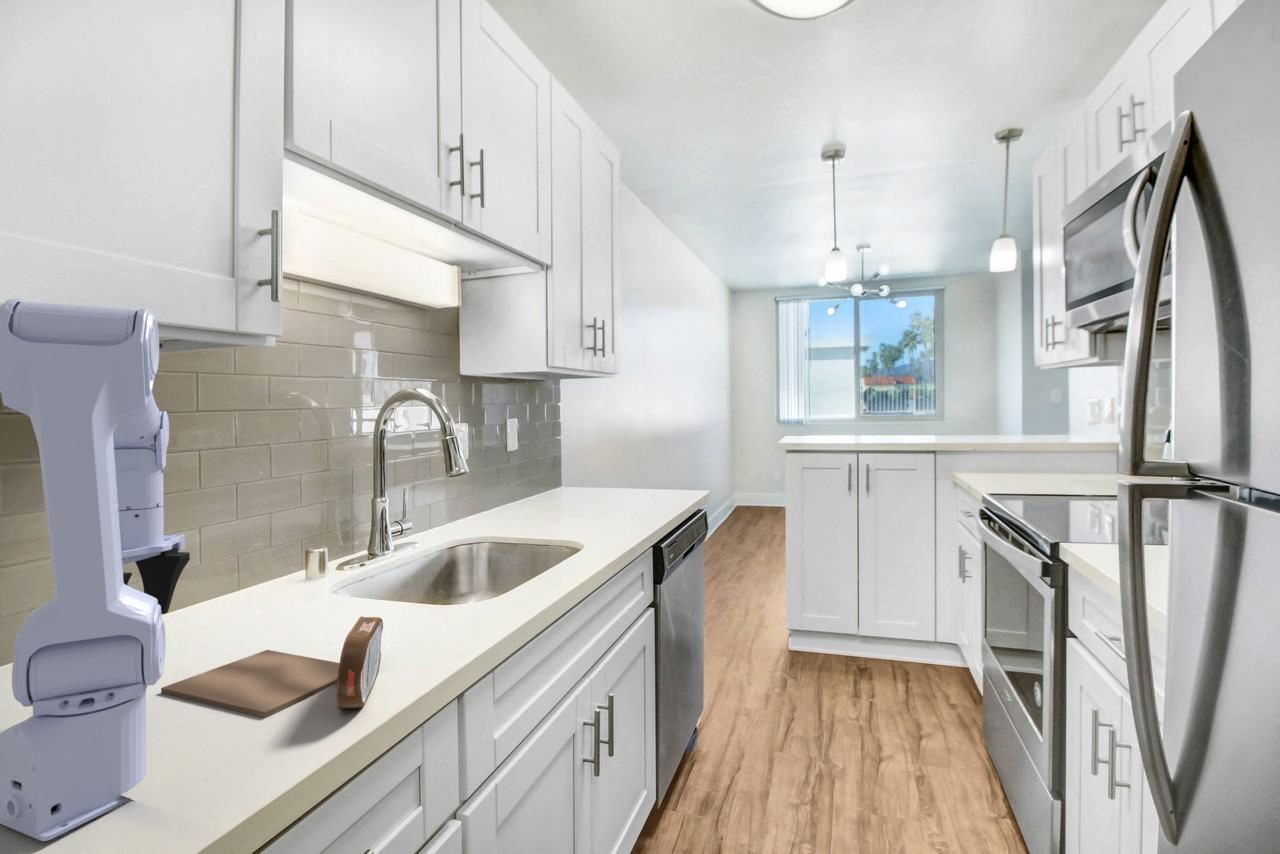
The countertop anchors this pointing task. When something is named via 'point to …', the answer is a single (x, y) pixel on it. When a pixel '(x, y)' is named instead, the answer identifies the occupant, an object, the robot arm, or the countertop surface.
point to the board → (259, 683)
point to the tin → (359, 663)
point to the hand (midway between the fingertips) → (133, 623)
